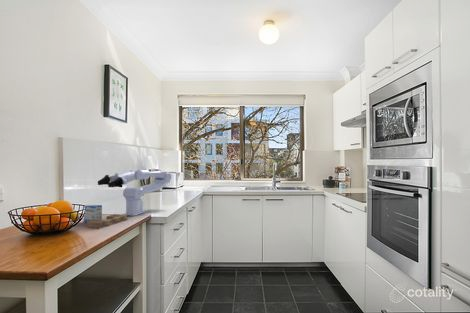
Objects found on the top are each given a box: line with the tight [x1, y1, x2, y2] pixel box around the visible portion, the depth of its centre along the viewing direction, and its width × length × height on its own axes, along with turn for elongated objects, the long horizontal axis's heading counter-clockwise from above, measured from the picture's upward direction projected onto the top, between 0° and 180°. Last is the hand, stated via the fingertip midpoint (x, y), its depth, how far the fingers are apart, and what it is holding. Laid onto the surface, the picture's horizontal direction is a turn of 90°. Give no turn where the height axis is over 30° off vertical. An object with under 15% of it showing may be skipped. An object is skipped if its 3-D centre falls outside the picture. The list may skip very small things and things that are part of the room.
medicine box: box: [83, 203, 103, 223], centre depth 142 cm, size 8×4×9 cm, turn 73°
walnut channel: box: [86, 213, 128, 229], centre depth 139 cm, size 18×8×2 cm, turn 161°
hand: (103, 184), depth 143 cm, fingers open, 7 cm apart
